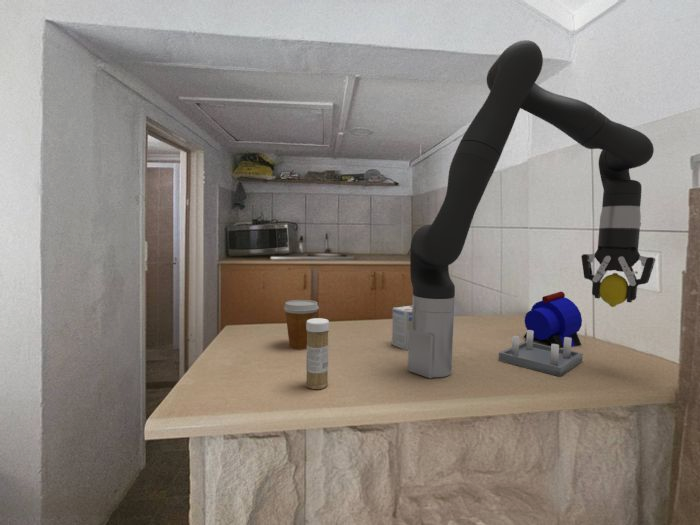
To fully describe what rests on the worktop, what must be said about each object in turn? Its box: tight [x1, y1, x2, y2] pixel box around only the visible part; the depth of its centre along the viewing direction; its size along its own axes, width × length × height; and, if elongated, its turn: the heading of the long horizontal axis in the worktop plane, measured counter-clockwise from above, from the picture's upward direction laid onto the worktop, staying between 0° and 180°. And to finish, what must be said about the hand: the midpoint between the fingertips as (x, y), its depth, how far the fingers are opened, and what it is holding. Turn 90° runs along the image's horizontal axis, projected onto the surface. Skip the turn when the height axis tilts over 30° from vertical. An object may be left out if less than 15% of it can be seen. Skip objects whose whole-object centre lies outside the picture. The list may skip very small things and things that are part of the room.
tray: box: [498, 329, 583, 378], centre depth 91 cm, size 16×14×6 cm
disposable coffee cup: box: [283, 299, 320, 350], centre depth 100 cm, size 10×10×12 cm
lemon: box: [599, 272, 629, 308], centre depth 85 cm, size 6×6×8 cm
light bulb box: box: [391, 305, 412, 351], centre depth 103 cm, size 11×7×11 cm, turn 123°
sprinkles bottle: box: [305, 317, 330, 390], centre depth 73 cm, size 5×5×13 cm
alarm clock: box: [523, 291, 583, 349], centre depth 109 cm, size 12×12×15 cm
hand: (613, 299), depth 85 cm, fingers closed on lemon, 5 cm apart
